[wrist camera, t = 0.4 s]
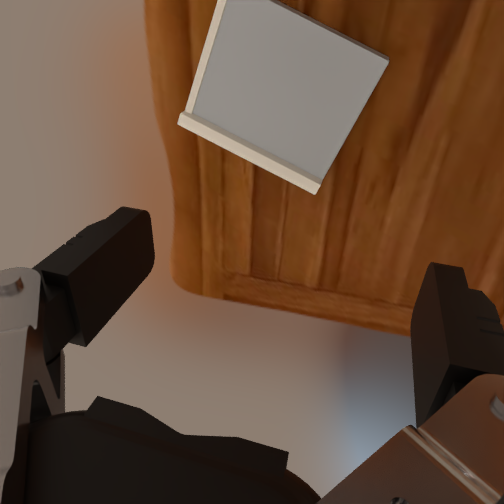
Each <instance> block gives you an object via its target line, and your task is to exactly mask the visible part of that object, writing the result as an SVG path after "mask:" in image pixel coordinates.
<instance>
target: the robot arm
mask: <svg viewBox="0 0 504 504" xmlns="http://www.w3.org/2000/svg"><path fill="white" fill-rule="evenodd" d="M154 259H155V252H154V243H153V235H152V225H151V218H150V214H149V213H148V212H147V211H146V210H140V209H135V208H129V207H120V208H119V209H118V210H116V211H115V212H114V213H113V214H111V215H110V216H109V217H107V218H106V219H104V220H101V221H99V222H96V223H94V224H92V225H89V226H87V227H86V228H85V229H83V230H82V231H81V232H79V233H78V234H77V235H76V237H73V238H71V239H70V240H69V241H67V242H66V245H65V244H63V245H62V246H61V247H59V248H58V249H57V250H56V251H54V252H53V253H52V254H50V255H49V256H48V257H46V258H45V259H44V260H42V261H41V262H40V263H39V264H37V265H36V266H35V267H33V268H32V269H31V268H25V267H17V268H9V269H5V270H2V271H0V504H504V330H503V327H502V324H500V318H499V315H498V313H497V310H496V307H495V305H494V304H493V303H492V302H491V301H490V300H489V298H488V297H487V296H486V295H485V294H484V293H483V292H482V291H479V290H474V289H469V288H468V284H467V280H466V277H465V273H464V270H463V268H462V267H456V266H450V265H445V264H439V263H434V262H431V263H430V264H429V266H428V268H427V271H426V274H425V277H424V280H423V283H422V286H421V289H420V291H419V294H418V297H417V300H416V303H415V306H414V309H413V314H412V319H411V347H412V363H413V379H414V393H415V409H416V410H415V411H416V427H417V429H416V428H415V427H413V426H412V425H408V426H406V427H405V428H403V429H402V430H401V431H399V432H398V433H397V434H396V435H395V436H393V437H392V438H391V439H390V440H389V441H388V442H386V443H385V444H384V445H383V446H382V447H381V448H379V449H378V450H377V451H376V452H375V453H374V454H373V455H371V456H370V457H369V458H368V459H367V460H366V461H365V462H363V463H362V464H361V465H360V466H359V467H358V468H356V469H355V470H354V471H353V472H352V473H351V474H349V475H348V476H347V477H346V478H345V479H344V480H342V481H341V482H340V483H339V484H338V485H337V486H336V487H334V488H333V489H332V490H331V491H330V492H329V493H328V494H326V495H325V496H324V497H323V498H322V499H321V498H320V496H319V495H318V494H317V493H316V492H315V491H314V490H313V489H312V488H311V487H310V486H309V485H308V484H307V483H306V482H304V481H303V480H302V479H301V478H299V477H298V476H297V475H295V474H293V473H292V472H290V471H289V470H287V469H286V466H287V460H288V454H289V452H287V451H283V450H280V449H276V448H273V447H270V446H266V445H263V444H259V443H256V442H252V441H249V440H246V439H242V438H239V437H221V436H197V435H184V434H180V433H179V432H177V431H175V430H174V429H172V428H170V427H169V426H167V425H166V424H164V423H163V422H161V421H159V420H158V419H156V418H155V417H153V416H152V415H150V414H148V413H147V412H145V411H144V410H142V409H140V408H137V407H133V406H130V405H127V404H123V403H120V402H116V401H113V400H110V399H106V398H103V397H99V396H97V397H96V399H95V400H94V401H93V403H92V404H91V406H90V407H89V408H88V410H82V411H71V412H66V413H65V355H64V351H63V348H64V347H65V345H66V344H67V343H68V342H69V343H72V344H76V345H80V346H84V347H87V345H88V344H89V343H90V342H91V341H92V340H93V338H94V337H95V336H96V335H97V334H98V333H99V331H100V330H101V329H102V328H103V327H104V326H105V325H106V323H107V322H108V321H109V320H110V319H111V317H112V316H113V315H114V314H115V313H116V312H117V311H118V310H119V308H120V307H121V306H122V305H123V304H124V303H125V301H126V300H127V299H128V298H129V297H130V296H131V294H132V293H133V292H134V291H135V290H136V289H137V288H138V286H139V285H140V284H141V283H142V282H143V281H144V279H145V278H146V277H147V276H148V274H149V273H150V272H151V270H152V268H153V265H154Z"/></svg>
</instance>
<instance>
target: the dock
mask: <svg viewBox="0 0 504 504" xmlns="http://www.w3.org/2000/svg"><path fill="white" fill-rule="evenodd" d="M388 63H389V57H388V56H386V55H384V54H382V53H380V52H378V51H376V50H374V49H372V48H370V47H368V46H366V45H364V44H362V43H360V42H358V41H356V40H354V39H352V38H350V37H348V36H346V35H344V34H342V33H340V32H338V31H336V30H334V29H332V28H330V27H329V26H327V25H325V24H323V23H321V22H319V21H317V20H315V19H313V18H311V17H309V16H307V15H305V14H303V13H301V12H299V11H297V10H295V9H293V8H291V7H289V6H287V5H285V4H283V3H281V2H279V1H277V0H218V1H217V5H216V8H215V12H214V15H213V18H212V22H211V25H210V28H209V32H208V35H207V38H206V42H205V45H204V48H203V52H202V55H201V58H200V62H199V65H198V68H197V72H196V75H195V78H194V82H193V85H192V89H191V92H190V95H189V99H188V102H187V105H186V109H185V111H184V112H182V113H180V116H179V120H178V123H177V124H178V125H180V126H182V127H184V128H186V129H188V130H189V131H191V132H193V133H195V134H197V135H199V136H201V137H203V138H205V139H207V140H209V141H211V142H213V143H215V144H217V145H219V146H221V147H223V148H225V149H227V150H228V151H230V152H232V153H234V154H236V155H238V156H240V157H242V158H244V159H246V160H248V161H250V162H252V163H254V164H256V165H258V166H260V167H262V168H264V169H265V170H267V171H269V172H271V173H273V174H275V175H277V176H279V177H281V178H283V179H285V180H287V181H289V182H291V183H293V184H295V185H297V186H299V187H301V188H303V189H304V190H306V191H308V192H310V193H312V194H314V195H315V194H316V193H317V191H318V189H319V187H320V186H321V183H322V180H323V178H324V176H325V175H326V173H327V171H328V169H329V168H330V166H331V164H332V162H333V160H334V159H335V157H336V155H337V153H338V152H339V150H340V148H341V146H342V145H343V143H344V141H345V139H346V137H347V136H348V134H349V132H350V130H351V129H352V127H353V125H354V123H355V122H356V120H357V118H358V116H359V114H360V113H361V111H362V109H363V107H364V106H365V104H366V102H367V100H368V98H369V97H370V95H371V93H372V91H373V90H374V88H375V86H376V84H377V83H378V81H379V79H380V77H381V75H382V74H383V72H384V70H385V68H386V67H387V65H388Z"/></svg>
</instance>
